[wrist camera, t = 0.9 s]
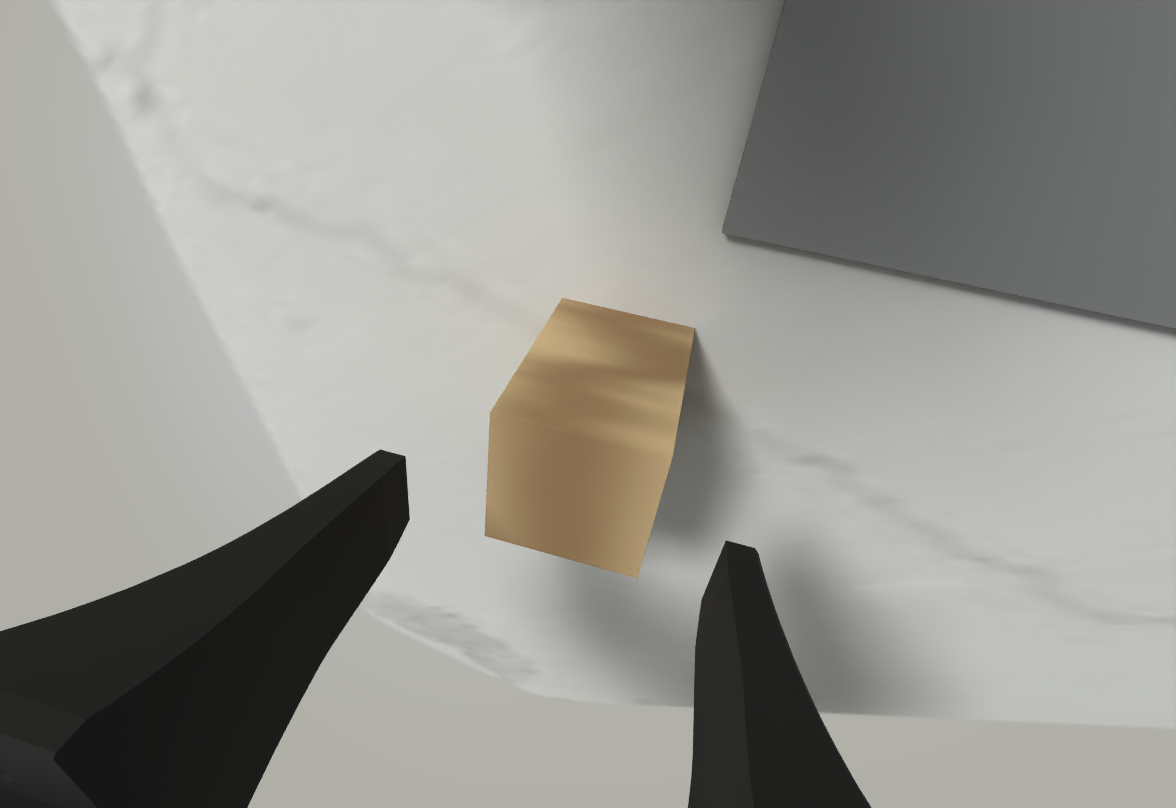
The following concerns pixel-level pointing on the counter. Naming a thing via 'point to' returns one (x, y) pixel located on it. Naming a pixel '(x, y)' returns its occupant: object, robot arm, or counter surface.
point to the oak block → (587, 436)
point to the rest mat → (975, 145)
